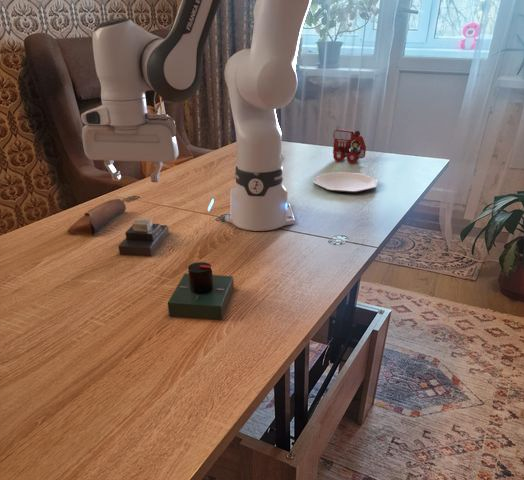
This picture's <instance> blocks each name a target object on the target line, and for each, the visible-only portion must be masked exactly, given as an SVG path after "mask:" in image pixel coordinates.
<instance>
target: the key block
mask: <svg viewBox="0 0 524 480" xmlns="http://www.w3.org/2000/svg"><path fill="white" fill-rule="evenodd" d="M152 224H153V228H152V229H151V230H150V231H149V232H141V231H133V225H131V226H130V227H129V228H128V229H127V230H126V231H125V238H124V240H123V241H122V242H120V244H119V245H118V246H117V248H118V251H119V255H120V256H131V257H132V256H134V257H149V258H150V257H152V256H153V255H154V254H155V253H156V251H157V250H158V249H159V247H160V246H161V245H162V243H163V242H164V241H165V239H167V237H168V235H169V234H170V232H169V231H170V229H169V225H168V224H161V223H152Z"/></svg>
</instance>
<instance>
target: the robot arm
mask: <svg viewBox="0 0 524 480" xmlns="http://www.w3.org/2000/svg"><path fill="white" fill-rule="evenodd" d="M220 3H221V0H181V1H180V4H179V6H178V10H177V12H176V15H175V19H174V22H173V24H172V28H171V30H170V32H169V33H168V35H167V36H166V37H165V38H163V37H160V36H159V35H155V34H154V33H151V32H149V31H147V30H145V29H144V28H142V27H140V26H138V25H137V24H136V23H135V22H133V21H132V19H130V18H126V17H119V18H114V19H110V20H105V21H103V22H100V23H98V24H97V25H96V26H95V27H94V29H93V31H92V51H93V60H94V67H95V72H96V77H97V78H98V80H99V83H100V99H101V104H99V105H97V106H94V108H91V109H88V110H86V111H84V112H83V113H81V115H80V119H81V122H82V124H83V125H84V126H83V127H82V130H81V138H82V144H83V145H82V146H83V152H84V154H85V157H87V159H88V160H90V161H103V165H104V167H105V169H106V170H107V171H108V172H109V174H110V175H111V180H112V182H120V181H121V180H122V176H121V170H117V169H116V168H115V166H114V163H115V162H118V161H119V162H145V163H146V162H149V163H153V167H154V168H155V171H154V172H152V173H150V182H151V183H160V181H161V178H160V174H161V173H160V172H161V171H162V168H163V166H164V163H173V162H175V161H176V160H177V159H178V157H179V155H180V154H179V153H180V152H179V147H178V146H179V145H178V141H177V137H176V135H177V126H176V122H175V120H174V119H173V118H172V117H171V116H170V115H168V114H166V113H162V114H158V113H149V112H148V107H147V98H146V92H147V91H154V92H155V93H156V94H157V95H158V96H159V97H161V99H163V100H165V101H168V102H171V103H183V102H186V101H188V100H189V99H191V98H193V96H194V95H195V94H196V93H197V91H198V89H199V88H200V85H201V82H202V77H203V59H204V58H203V57H204V51H205V46H206V43H207V40H208V38H209V36H210V35H209V34H210V32H211V29H212V26H213V23H214V20H215V18H216V14H217V11H218V9H219V6H220ZM311 3H312V0H255V4H254V6H253V14H252V15H253V31H252V37H251V45H250V48H244V49H241V50H239V51H237V52H235V53H234V54H232V55H231V56H230V57H229V58H228V60H227V62H226V64H225V67H224V72H223V74H224V75H223V76H224V81H225V84H226V87H227V91H228V96H229V103H230V109H231V115H232V119H233V124H234V131H235V146H236V149H235V150H236V166H235V172H234V176H235V182H236V183H235V185H234V186H233V187H232V188H231V189H230V191H229V193H230V195H229V196H230V199H229V201H230V204H229V207H230V208H229V209H230V211H229V212H228V213H227V214H226V215H224V221H225V222H228V223H230V224H232V225H234V226H235V227H237V228H239V229H241V230H246V231H253V232H266V231H273V230H277V229H280V228H283V227H285V226H291V225H294V224H295V223H296V220H295V216H294V213H293V209H292V207H291V204H290V202H289V201H288V191H287V189H286V187H285V186H284V184H283V180H284V178H283V177H284V170H283V166H282V157H283V154H282V142H283V141H282V139H283V135H282V130H281V127H280V125H279V122H278V117H277V113H276V110H279V109H283V108H284V107H286V106H287V105H289V104H290V103H291V102H292V100H293V98H294V97H295V95H296V92H297V89H298V77H297V76H298V75H297V72H296V69H297V68H296V65H297V60H298V58H297V57H298V52H299V45H300V39H301V34H302V30H303V27H304V24H305V20H306V17H307V14H308V12H309V8H310V5H311ZM214 200H215V199H214V198H212V199H211V201H210V203H209V205H208V207H207V211H208V212H211V211H210V210H211V209H212V207H213V204H214V202H215V201H214Z"/></svg>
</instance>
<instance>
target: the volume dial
mask: <svg viewBox="0 0 524 480" xmlns="http://www.w3.org/2000/svg"><path fill="white" fill-rule="evenodd" d="M187 270H188V271H187V272H188V274H189V282H190V290H191V291H192V292H193V293H196V294H205V293H209V292H211V291H212V290H213V276H212V275H213V266H212V264H211V263H208V262H204V261H198V262H193V263H191V264H189V265H188V266H187Z"/></svg>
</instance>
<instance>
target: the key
mask: <svg viewBox="0 0 524 480" xmlns="http://www.w3.org/2000/svg"><path fill="white" fill-rule="evenodd" d="M153 224H154V223H153V219H152V218H139V217H138V218H136V219H135V220H134V221H133V222H132V225H133V231H141V232H149V231H150V230H151V229H152V228H153ZM132 225H131V226H132Z"/></svg>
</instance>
